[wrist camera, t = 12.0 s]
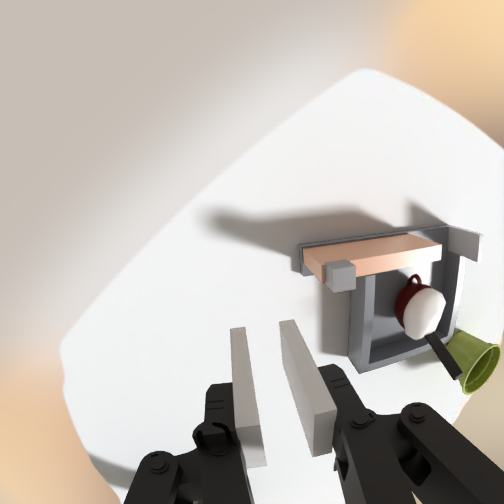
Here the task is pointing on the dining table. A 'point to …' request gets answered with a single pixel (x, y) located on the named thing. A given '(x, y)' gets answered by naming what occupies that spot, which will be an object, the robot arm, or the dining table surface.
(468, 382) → the plant pot
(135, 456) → the dining table surface
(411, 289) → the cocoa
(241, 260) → the dining table surface
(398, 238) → the cover
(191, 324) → the dining table surface
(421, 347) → the box
